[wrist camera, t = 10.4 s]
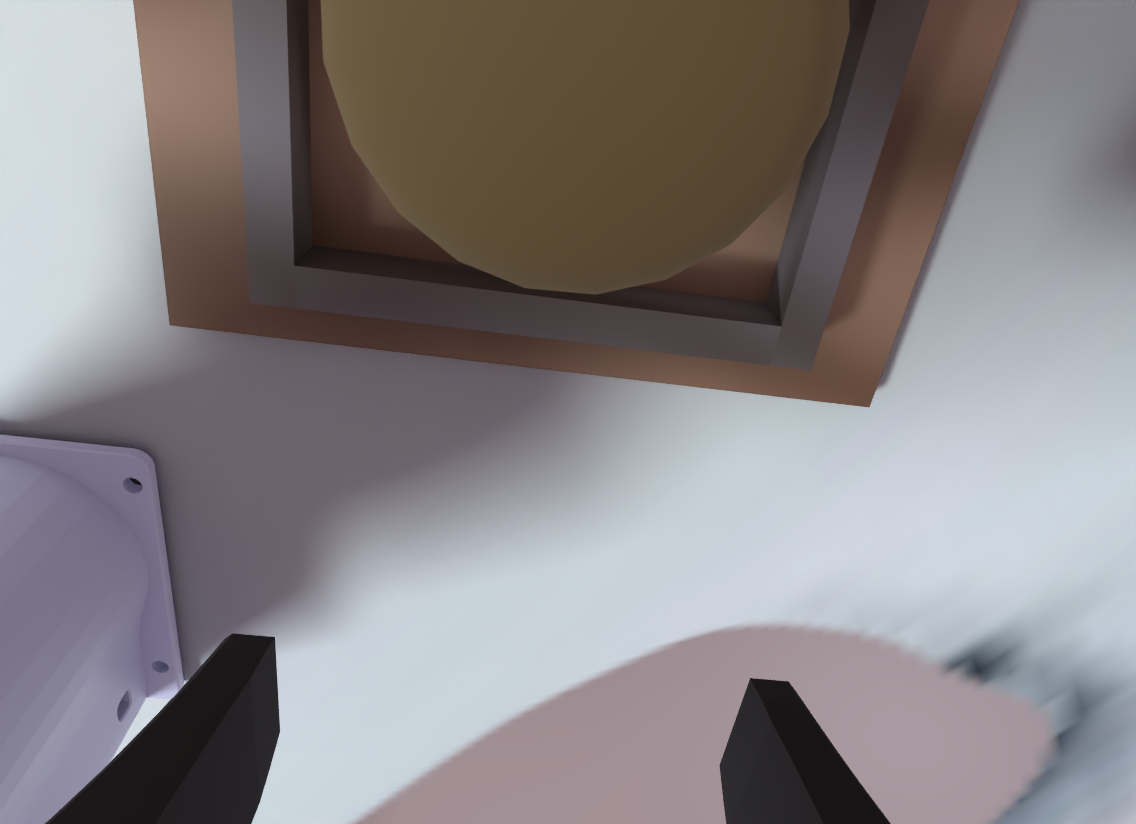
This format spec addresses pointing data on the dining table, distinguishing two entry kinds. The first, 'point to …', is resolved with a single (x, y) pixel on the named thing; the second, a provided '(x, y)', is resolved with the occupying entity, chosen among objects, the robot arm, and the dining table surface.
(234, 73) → the framed serving tray
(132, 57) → the dining table surface
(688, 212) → the cork
